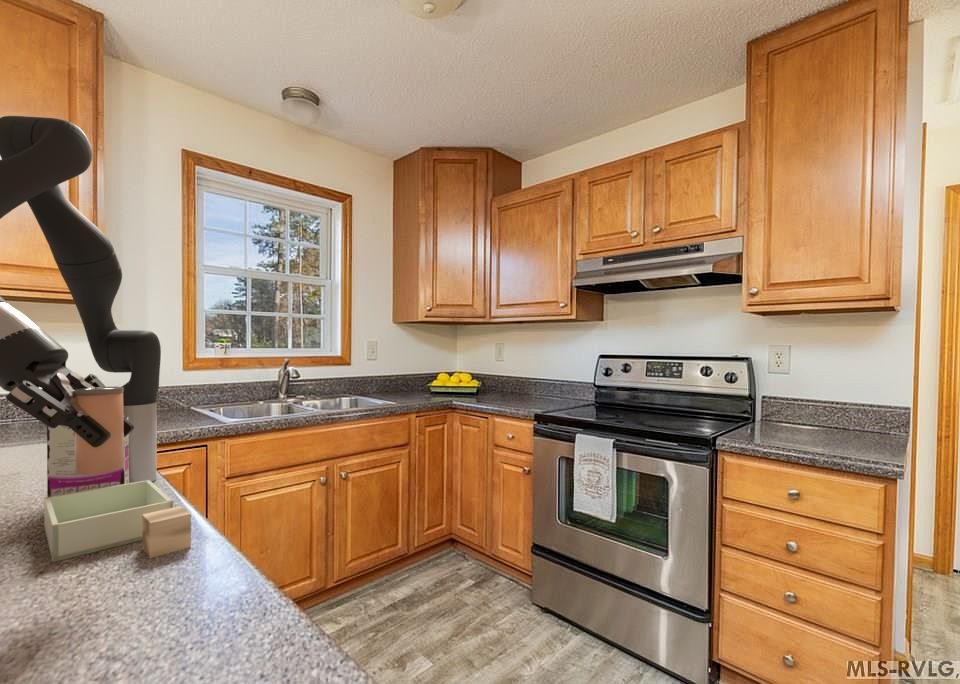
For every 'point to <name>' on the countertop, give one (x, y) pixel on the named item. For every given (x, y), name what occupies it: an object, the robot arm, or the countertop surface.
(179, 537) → the maple block
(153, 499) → the tote
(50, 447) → the candy bar box
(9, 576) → the countertop surface
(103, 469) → the spice jar
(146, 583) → the countertop surface
